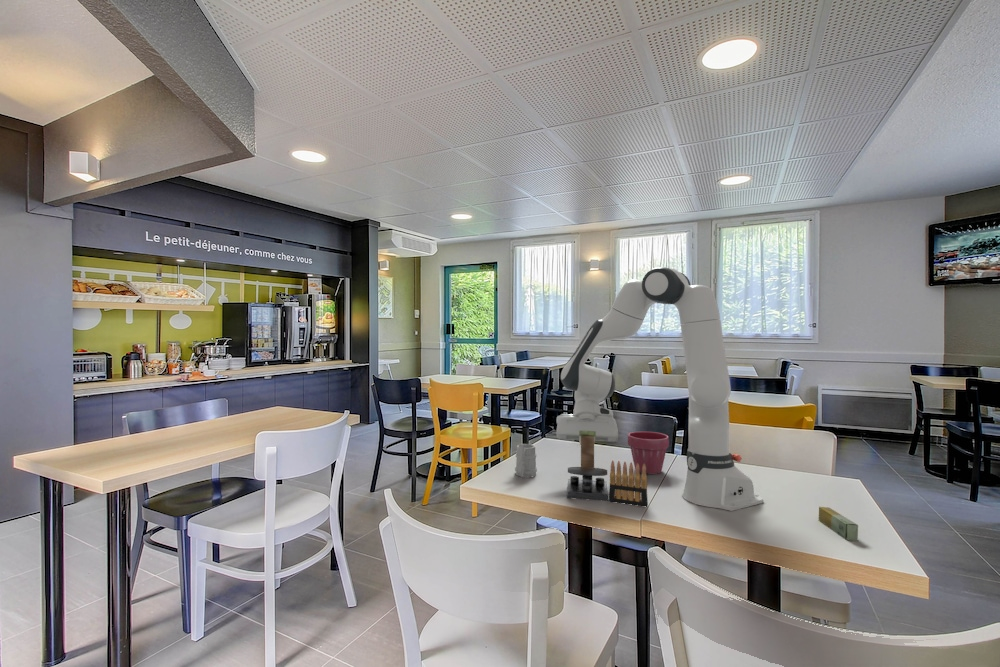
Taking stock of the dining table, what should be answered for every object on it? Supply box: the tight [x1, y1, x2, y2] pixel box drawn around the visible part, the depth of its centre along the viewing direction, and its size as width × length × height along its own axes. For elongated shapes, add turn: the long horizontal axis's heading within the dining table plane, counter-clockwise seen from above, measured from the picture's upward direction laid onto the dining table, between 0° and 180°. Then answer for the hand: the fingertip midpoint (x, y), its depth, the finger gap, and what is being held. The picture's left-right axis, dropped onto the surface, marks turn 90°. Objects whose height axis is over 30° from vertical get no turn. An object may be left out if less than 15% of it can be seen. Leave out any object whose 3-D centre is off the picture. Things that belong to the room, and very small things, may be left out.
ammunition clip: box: [608, 460, 649, 508], centre depth 131 cm, size 11×2×12 cm, turn 68°
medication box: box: [818, 506, 859, 542], centre depth 114 cm, size 12×3×4 cm, turn 173°
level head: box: [567, 431, 608, 477], centre depth 141 cm, size 12×12×13 cm
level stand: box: [566, 475, 609, 502], centre depth 140 cm, size 12×12×5 cm
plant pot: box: [627, 431, 670, 475], centre depth 164 cm, size 14×14×13 cm
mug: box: [514, 443, 538, 478], centre depth 156 cm, size 8×12×12 cm, turn 163°
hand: (586, 450), depth 147 cm, fingers closed
